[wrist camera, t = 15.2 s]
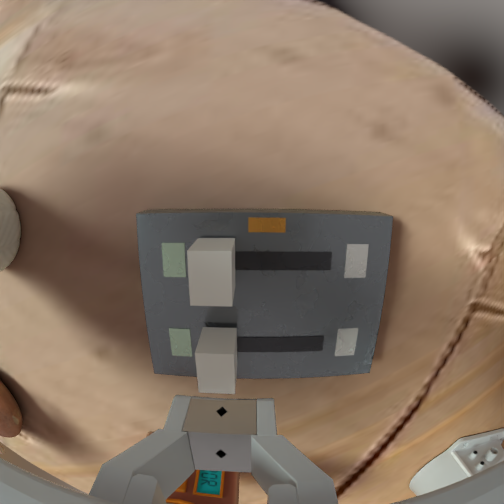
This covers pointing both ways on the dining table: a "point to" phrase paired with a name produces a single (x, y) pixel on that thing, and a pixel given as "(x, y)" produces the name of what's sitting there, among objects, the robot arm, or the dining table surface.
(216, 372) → the block
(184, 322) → the breaker box
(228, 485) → the control panel
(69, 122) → the dining table surface
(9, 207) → the lamp
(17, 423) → the ceramic jug
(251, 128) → the dining table surface
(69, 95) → the dining table surface
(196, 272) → the block
